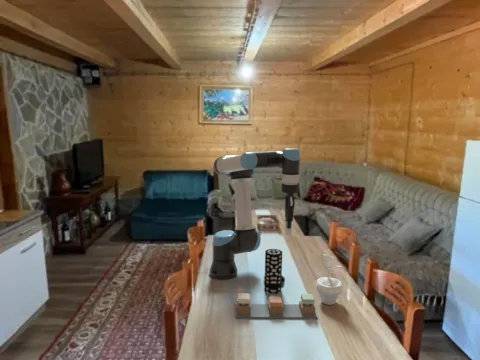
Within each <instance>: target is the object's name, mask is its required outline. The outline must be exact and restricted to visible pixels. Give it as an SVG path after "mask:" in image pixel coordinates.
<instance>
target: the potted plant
mask: <svg viewBox="0 0 480 360" xmlns="http://www.w3.org/2000/svg"><path fill="white" fill-rule="evenodd" d="M320 255H321V258H322V260H323V261H322V262H321V265H322V266H323V267H324V268H325V269H326V276H324V277H319V278H317V280H316V287H315V289H316V291H317V292H318V295H319V298H320V301H321V303H323V304H325V305H329V306H331V305H334V304H336V302H337V300H338V297H339V295H341V294H342V291H343V289H342V288H343V283H342V282H341V280H340V279H337V278H335V277H331V270H334V269H335V268H338V269H339V268H341V269H342V268H343V267H342V266H341V265H333V266H332V264H333V257H332V256H331V255H329V254H326V253H324V252H322V253H321V254H320ZM316 261H317V263H319V262H320V260H319V259H317V260H316Z"/></svg>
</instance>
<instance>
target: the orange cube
mask: <svg viewBox="0 0 480 360" xmlns="http://www.w3.org/2000/svg"><path fill="white" fill-rule="evenodd" d="M268 301H269V302H270V307H282V304H283V300H282V297H281V296H269V299H268Z"/></svg>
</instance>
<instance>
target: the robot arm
mask: <svg viewBox="0 0 480 360" xmlns="http://www.w3.org/2000/svg"><path fill="white" fill-rule="evenodd" d="M300 154H301V150H300V149H299V148H296V147H295V148H293V147H285V148H283V149H282V151H279V150H270V151H268V150H267V151H247V152H243V153H242V154H234V155H221V156H218V157H217V158H216V159H215V161H214V162H213V170H214V172H215V173H216V174H217V175H218V176H220V177H226V178H228V177H229V178H230V181H232V182H233V186H234V200H235V201H234V202H235V212H236V213H235V214H236V227H234V231H233V230H231V229H223V230H220V231H217V232H215V233H214V234H213V238H212V262H211V265H210V268H209V276H210V277H212V278H213V279H216V280H231V279H233V278H236V277H237V276H238V267H237V265H236V262H235V255H238V254H239V255H240V254H244V253H252V252H255V251H257V250H258V249H259V248H260V246H261V242H262V241H261V238H262V237H261V234H260V232H259V230H258V229H256V226H255V225H254V224H253V214H252V213H253V212H252V199H251V187H250V185H251V183H250V182H251V180H252V179H253V175H255V173H256V170H257V169H271V168H273V169H274V168H275V169H281V175H280V178H281V182H282V183H281V189H280V191H281V193H283V194H285V195H284V217H285V219H284V222H285V229H284V231H285V232H284V234H285V236H292V233H293V232H292V230H293V229H292V227H293V221H294V214H295V213H294V211H295V203H296V202H295V199H296V198H295V196H294V194H299V190H300V188H299V187H300V185H299V183H300V163H301V155H300Z"/></svg>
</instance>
